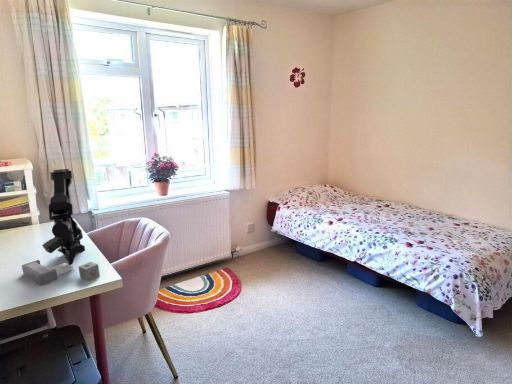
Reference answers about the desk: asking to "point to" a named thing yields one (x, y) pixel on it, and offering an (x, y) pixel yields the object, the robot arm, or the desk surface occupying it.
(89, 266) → the dice cube
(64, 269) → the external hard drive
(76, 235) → the robot arm
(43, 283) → the dock
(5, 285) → the desk surface
